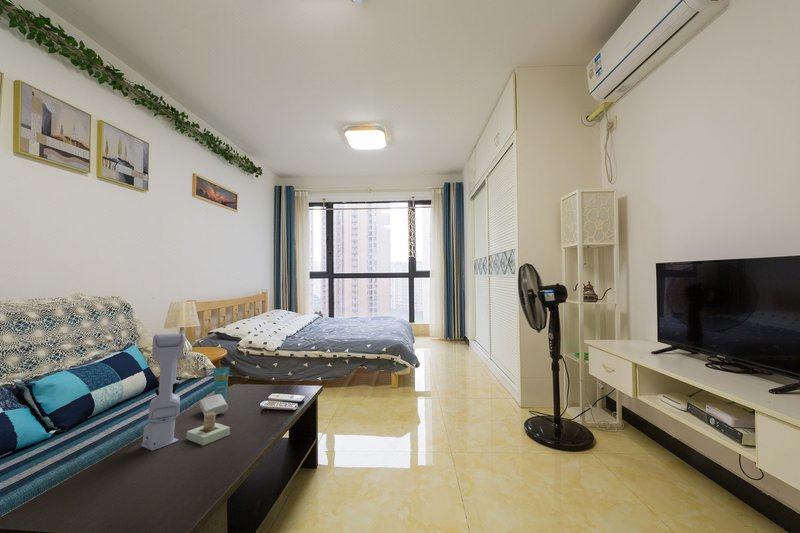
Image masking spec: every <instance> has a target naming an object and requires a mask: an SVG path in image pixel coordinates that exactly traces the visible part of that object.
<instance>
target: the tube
mask: <svg viewBox="0 0 800 533" xmlns="http://www.w3.org/2000/svg"><path fill="white" fill-rule="evenodd" d="M230 368H231V367H230V366H224V367H214V368H213V378H214V381H213V382H214V386H213V387H214V395H217V394H221V395H222V396H223V398H224V400H225V401H226V400H227V392H228V391H227V390H228V382H229V374H230Z"/></svg>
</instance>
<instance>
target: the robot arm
mask: <svg viewBox="0 0 800 533" xmlns="http://www.w3.org/2000/svg"><path fill="white" fill-rule="evenodd" d="M185 337H186V334H185V333H184V332H182V333H167V334H165V333H164V334H163V333H162V334H158V333H155V334H154V335H153V337H152V344H151V345H152V347H151V348H152V349H151V350H152V353H151V354H152V355H151V357H152V360H154V361H156V362H158V365H159V382H158V383H159V384H158V385H159V386H158V388H156V389H155V391H154V393H155V394H156V396H155V397H154V398H152V399H151V401H150V402H149V408H148V420H149V421H151V422H150V423H148V424H146V425H144V427H143V431H142V433H143V434H142V444H141V445H140V446H141V447H142V448H145V449H147V450H150V451H155V450H158V449H161V448H163V447H166V446H169V445H171V444H175V443H177V442H180V440H179V438H177V437H175V429H176V428H175V426H176V417H179V415H180V410H181V397H180V395H177V393H176V391H177V388H178V386H179V385H180V380H178V379H177V374H178V373H177V372H178V360H180V359H182V358H183V355H184V348H185V340H186V338H185Z"/></svg>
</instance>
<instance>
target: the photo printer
mask: <svg viewBox="0 0 800 533" xmlns="http://www.w3.org/2000/svg"><path fill="white" fill-rule="evenodd" d="M199 407H200V410H201V411H202V413H203V416H204V415H205V414H206V413H211V412H214V413H216V415H215V416H217V415H219V414H222V413H225V412H226V411H228V409H229V405H228V403H227V402H226V401H225V400H224V398H223V396H222V395H221V394H217V395H215V394H214V395H209V396H207V397H204V398H203V399H201V400H200V401H199Z"/></svg>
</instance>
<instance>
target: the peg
mask: <svg viewBox="0 0 800 533" xmlns="http://www.w3.org/2000/svg"><path fill="white" fill-rule="evenodd" d="M216 416H217V415H216V413H214V412H211V413H206V414H205V415H204V414H203V425H204V428H203V432H205V433H208V432H211V431H214V430H215V423H216Z"/></svg>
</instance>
